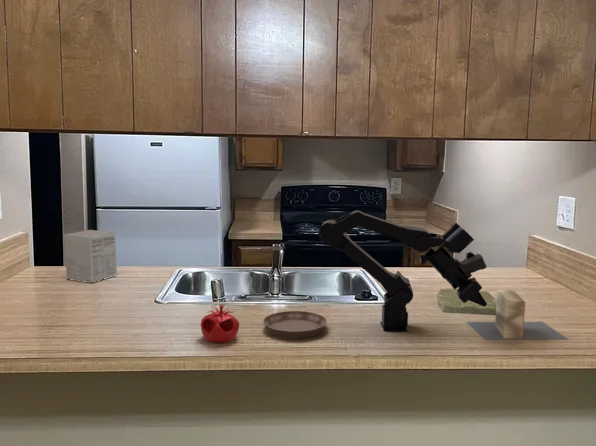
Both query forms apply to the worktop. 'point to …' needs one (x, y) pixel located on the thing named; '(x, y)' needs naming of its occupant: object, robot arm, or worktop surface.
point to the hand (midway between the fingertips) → (485, 305)
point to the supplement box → (90, 255)
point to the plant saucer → (294, 324)
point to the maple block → (510, 314)
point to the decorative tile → (453, 304)
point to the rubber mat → (529, 331)
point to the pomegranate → (219, 326)
